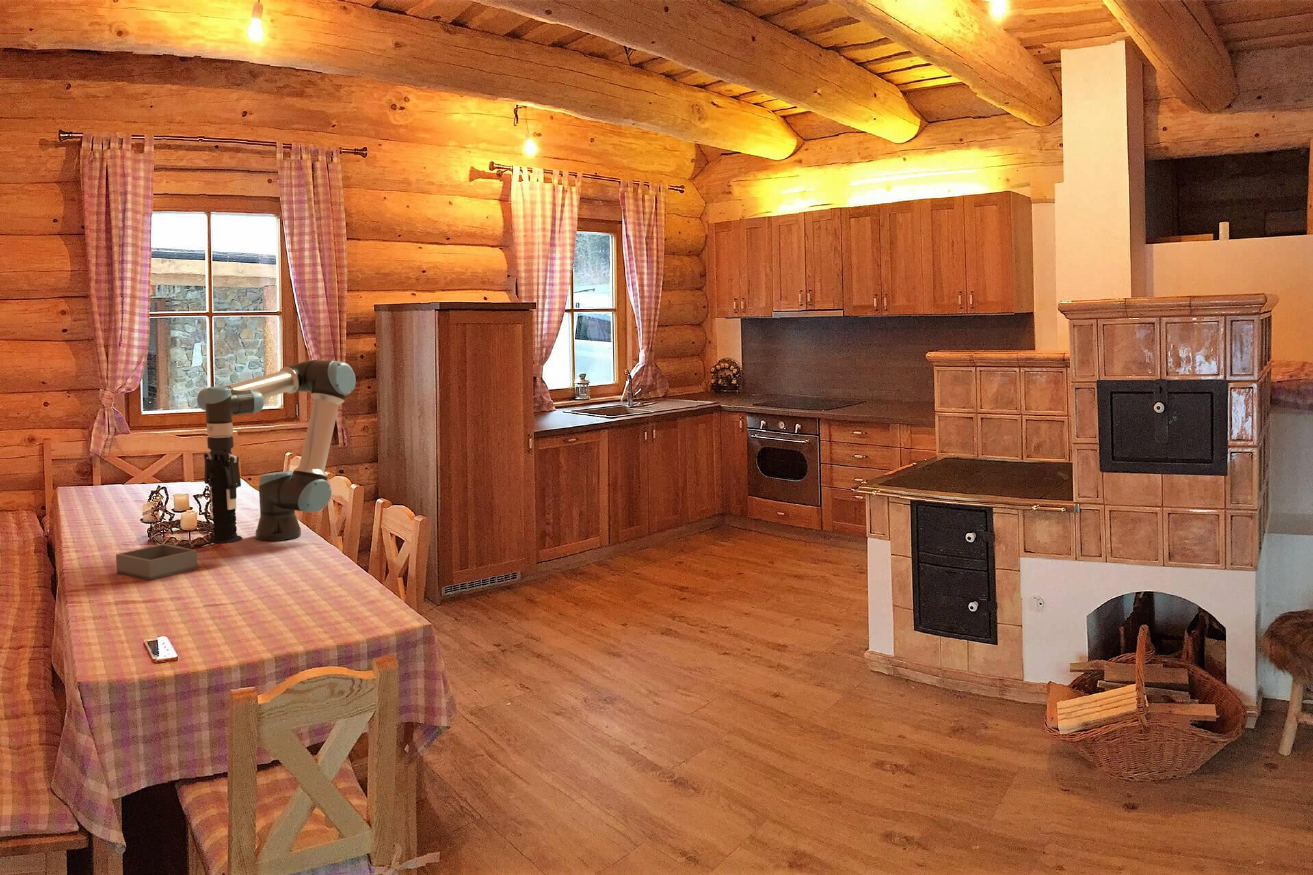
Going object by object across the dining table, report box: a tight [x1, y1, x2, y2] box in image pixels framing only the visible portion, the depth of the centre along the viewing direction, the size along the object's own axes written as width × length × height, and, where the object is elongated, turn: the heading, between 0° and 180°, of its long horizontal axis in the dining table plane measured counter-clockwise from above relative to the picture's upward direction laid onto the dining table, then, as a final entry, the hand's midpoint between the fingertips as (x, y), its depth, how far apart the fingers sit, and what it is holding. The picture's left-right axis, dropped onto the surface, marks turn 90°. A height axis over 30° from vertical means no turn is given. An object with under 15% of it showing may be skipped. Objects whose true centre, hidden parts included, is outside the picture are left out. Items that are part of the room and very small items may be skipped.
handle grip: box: [208, 460, 243, 545], centre depth 320 cm, size 10×26×10 cm
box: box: [115, 543, 199, 582], centre depth 310 cm, size 16×16×6 cm
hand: (223, 507), depth 320 cm, fingers closed on handle grip, 7 cm apart
